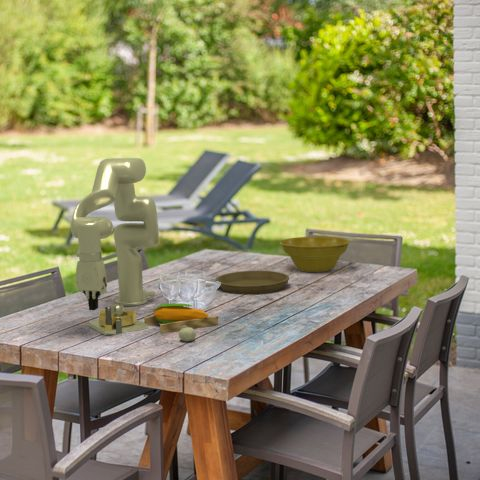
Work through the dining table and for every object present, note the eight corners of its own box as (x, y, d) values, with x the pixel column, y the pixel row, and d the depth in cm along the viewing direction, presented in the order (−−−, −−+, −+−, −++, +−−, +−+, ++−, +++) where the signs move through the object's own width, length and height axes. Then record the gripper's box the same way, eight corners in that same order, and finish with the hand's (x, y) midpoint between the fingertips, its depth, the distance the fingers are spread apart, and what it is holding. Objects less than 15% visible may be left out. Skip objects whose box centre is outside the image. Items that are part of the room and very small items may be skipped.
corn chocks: (199, 317, 353) (199, 309, 352) (218, 324, 340) (218, 316, 340) (144, 325, 342) (144, 317, 342) (161, 333, 330) (161, 325, 329)
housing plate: (130, 320, 351) (129, 298, 350) (148, 329, 337) (148, 306, 335) (88, 326, 343) (87, 304, 342) (105, 335, 329) (104, 312, 328)
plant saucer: (249, 299, 383) (249, 287, 382) (200, 288, 406) (200, 278, 405) (304, 287, 403) (304, 276, 402) (255, 278, 426) (254, 267, 425)
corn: (156, 299, 346) (210, 301, 341) (158, 319, 347) (211, 321, 343) (150, 305, 339) (205, 307, 334) (151, 326, 340) (206, 328, 336)
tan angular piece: (105, 318, 347) (104, 296, 346) (139, 318, 345) (138, 296, 344) (90, 330, 329) (89, 307, 328) (126, 330, 328) (125, 307, 326)
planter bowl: (304, 261, 462) (303, 234, 460) (363, 267, 443) (363, 238, 441) (266, 272, 436) (265, 243, 434) (327, 279, 418) (327, 248, 416)
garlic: (175, 341, 319) (174, 326, 318) (184, 338, 323) (184, 322, 322) (190, 343, 316) (189, 328, 315) (199, 340, 320) (198, 324, 319)
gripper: (65, 258, 328) (69, 310, 331) (103, 260, 322) (106, 313, 325) (78, 253, 335) (81, 305, 338) (115, 256, 328) (118, 308, 332)
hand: (93, 309), depth 332 cm, fingers closed
